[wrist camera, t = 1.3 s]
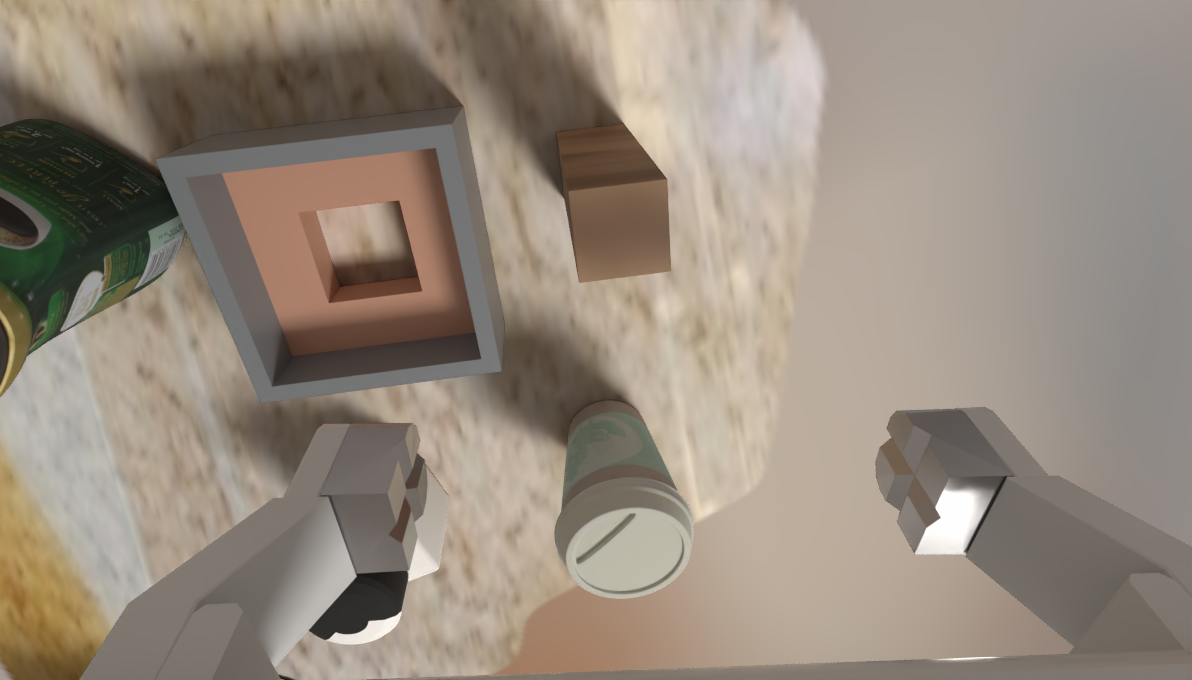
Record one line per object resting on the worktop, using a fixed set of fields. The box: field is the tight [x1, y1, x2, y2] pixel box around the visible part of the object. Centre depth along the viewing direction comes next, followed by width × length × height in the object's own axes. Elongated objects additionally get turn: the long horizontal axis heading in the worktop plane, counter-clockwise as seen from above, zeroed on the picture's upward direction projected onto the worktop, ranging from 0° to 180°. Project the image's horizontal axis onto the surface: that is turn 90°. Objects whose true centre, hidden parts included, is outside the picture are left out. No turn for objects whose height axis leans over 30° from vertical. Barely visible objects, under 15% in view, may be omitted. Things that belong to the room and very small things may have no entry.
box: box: [155, 106, 505, 403], centre depth 36 cm, size 14×14×6 cm
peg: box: [556, 124, 671, 283], centre depth 32 cm, size 4×4×13 cm
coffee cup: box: [555, 400, 694, 599], centre depth 42 cm, size 9×8×12 cm
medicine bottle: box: [309, 466, 450, 644], centre depth 42 cm, size 7×7×12 cm
